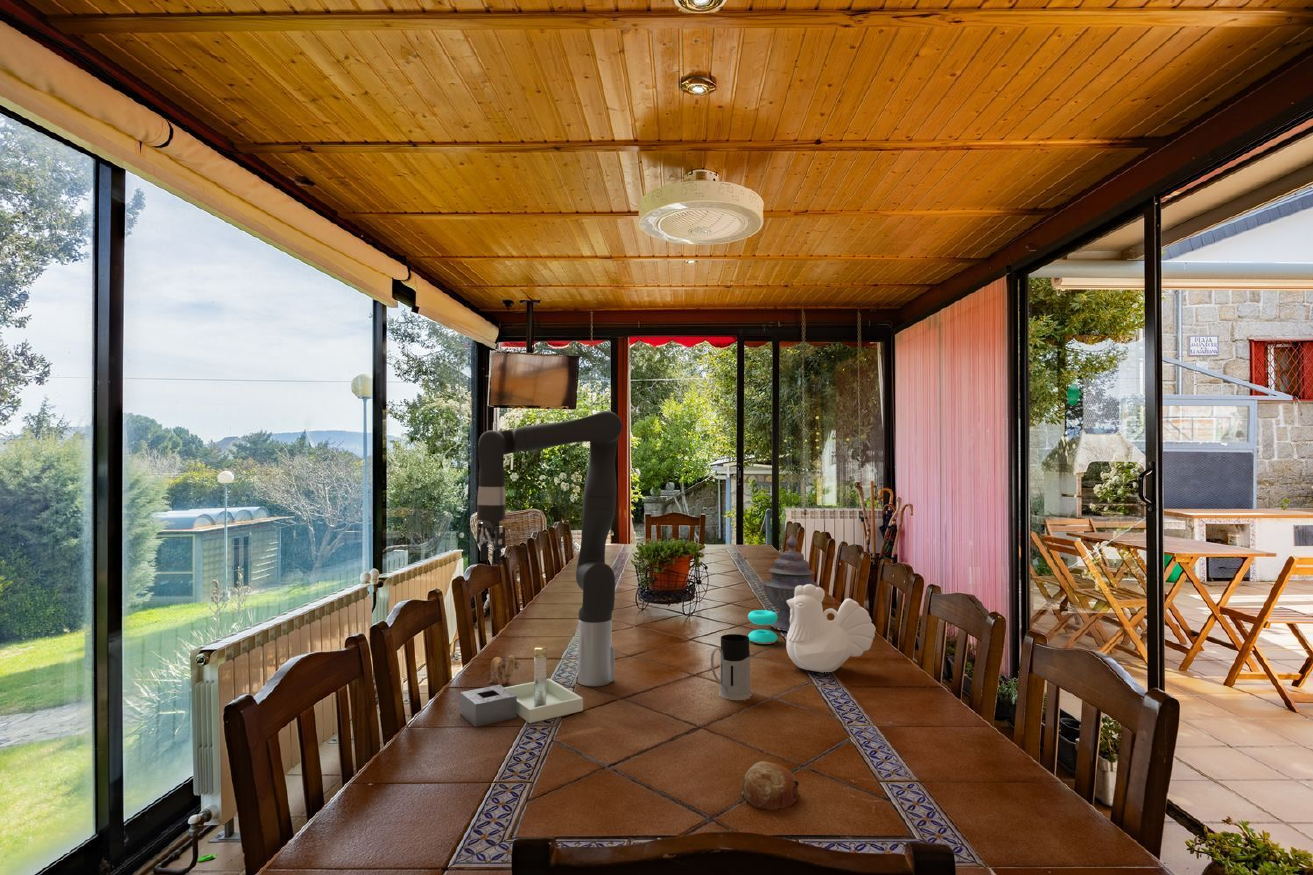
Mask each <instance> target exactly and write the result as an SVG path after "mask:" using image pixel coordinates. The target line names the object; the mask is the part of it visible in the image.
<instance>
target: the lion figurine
mask: <svg viewBox="0 0 1313 875" xmlns="http://www.w3.org/2000/svg"><path fill="white" fill-rule="evenodd" d="M520 666H521V662H519V661H518V660H517V659H516V658H515V655H508V656H505V657H503V658H501V657H500V656H496V657H494V658H493V659H491V663H490V673H489V674H488V675H487V677H488V678H490V680H489V684H494V683H495V681H494V677H495V676H494V673H495V675H496V677H495V678H496V679H497V683H498V684H497V685H501V686H503V684H502V683H503V682H502V681H503V679H505V684H509V683H510V679H511V677H512V675H513V674H515V672H516V671H518V670H519V668H520Z"/></svg>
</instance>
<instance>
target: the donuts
mask: <svg viewBox="0 0 1313 875" xmlns="http://www.w3.org/2000/svg"><path fill="white" fill-rule="evenodd" d="M747 618H748V620H749V621H750V623H752V624H754V625H761V626H769V625H770V624H773V623H775V622H776V621H777V619H778V613H776V612H774V611H772V610H766V609H757V610H752V611H750V612H749V613H748V615H747ZM747 636H748V637H749V640H750V641H754V642H761V643H766V642H774V641H776V640H777V639H779V637H778V635H777V633H775V632H774V631H773V630H770V629H755V630H752V631H750V632H749V633H748V635H747ZM750 641H749V642H750ZM777 641H778V640H777Z"/></svg>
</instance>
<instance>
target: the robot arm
mask: <svg viewBox="0 0 1313 875" xmlns="http://www.w3.org/2000/svg"><path fill="white" fill-rule="evenodd" d="M622 430H623V423H622V420H621V418H620V416H618V414H616V413H615V412H613V411H610V410H602V411H599V412H597V413H594V414H591V415H588V416H584V417H581V418H577V419H572V420H568V421H567V420H566V421H560V422H559V421H558V422H550V423H538V424H532V425H525V426H523V425H522V426H519V427H516V428H513V429H504V430H487V431H484V432H483V433H482V434H481V435H480V437H479V438H478V444H477V445H478V446H477V448H478V449H477V450H478V464H479V472H478V489H477V490H478V491H477V507H476V512H477V513H476V519H477V520H478V521H480V522H477V525H476V545H477V544H478V546H479V547H480V548H479V560H480V561H488V560H489V555H490V554H489V552H490V551H489V550H490V548H489V545H490V546H491V548H492V553H491V556H492V557H491V558H492V559H491V563H492V565H500V564H501V562H502V550H503V549H505V548H506V526H505V525H500V523H501V522H502V521H504V520H505V519H506V489H505V488H506V486H505V485H506V471H505V467H504V461H505V460H504V459H505V458H504V457H505V455H508V454H515V453H519V452H521V453H523V452H531V451H539V450H545V449H549V448H550V449H551V448H555V447H559V446H563V445H568V444H573V443H585V442H586V443H587V442H588V443H589V462H588V468H587V472H586V477H585V481H584V482H585V484H584V489H583V490H584V492H583V499H582V500H583V501H582V519H581V520H582V521H581V538H580V539H581V540H580V542H581V543H580V549H579V554H578V560H577V564H576V565H577V566H576V569H575V570H576V571H575V580H576V584H577V585H578V587H579V588H580V589H581V590H582V603H581V604H582V605H581V607H580V608H579V609H578V645H577V646H578V652H577V653H578V654H577V655H578V656H577V658H578V660H577V661H578V662H577V668H578V669H577V683H578V684H580V685H582V686H585V687H602V686H606V685H609V684H610V683H611V682H614V681H615V661H616V660H615V656H616V655H615V652H616V651H615V648H616V647H615V646H614V645H612V642H613V638H612V635H613V632H612V631H613V630H612V629H613V626H612V624H613V620H612V619H613V612H614V609H615V598H616V596H615V595H616V577H615V573H614V570H613V568H612V567H611V566H610V565H609V564H607V563H606V556H605V555H606V543H607V539H608V535H609V533H610V531H611V527H612V525H613V521H614V520H615V519H614V518H615V515H616V508H617V506H616V505H617V474H616V456H617V447H618V443H619V437H620V435H622V432H623V431H622Z"/></svg>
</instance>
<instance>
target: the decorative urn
mask: <svg viewBox="0 0 1313 875" xmlns="http://www.w3.org/2000/svg"><path fill="white" fill-rule="evenodd" d="M785 543H786V546H787V547H789V548H788V549H789V550H784V551H783V552H781V553H780V554H779V557H778V558H776V559H775V560H773V567H771V568H769V569H768V570H767V571H768V572H769V573H771V578H767V579H765V580H763V582H762V584H763V589H764V592H765V594H766V595H765V596H766V597H767V598H768V600H769V602H771V604H772V606H774V607H776V608H777V609H778V610H779V611H778V613H777V616H778V619H777V621H776V622H775V623H773V624H770V625H771V626H772V627H774V628H780V629H786V630H789V628H790V625H791V624H790V609H791V608H790V607H789V605H788V604H787V602H786V601H787V600H789V599H792V598H794V596H795V588H796V587H797V586H799V585H802V586H804V585H807V584H812V585H814V586H816V587H820V585H819V584H818V583H817V582H815V581H812V576H813V575H814V574H815V572H814V570H811V569H810V567H811V566H810V563H809V561H808V560H806V559H805V558H804V554H803V553H802V552H799V551H796V550H795V548H797V546H798V545H799V542H798V540H797V538H796V536H795V535H794V534H793V533H791V534H790V535H789V538H786V541H785Z"/></svg>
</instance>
